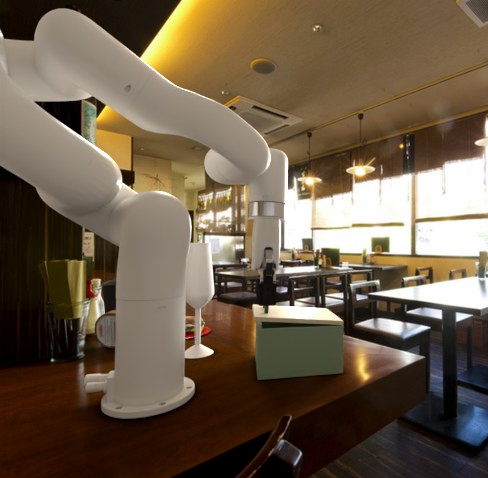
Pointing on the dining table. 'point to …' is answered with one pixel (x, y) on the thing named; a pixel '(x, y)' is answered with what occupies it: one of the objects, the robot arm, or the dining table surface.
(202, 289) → the champagne flute
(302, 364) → the chest
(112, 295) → the drinking cup
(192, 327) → the hamburger
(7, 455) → the dining table surface
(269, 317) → the lid
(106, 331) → the tin
